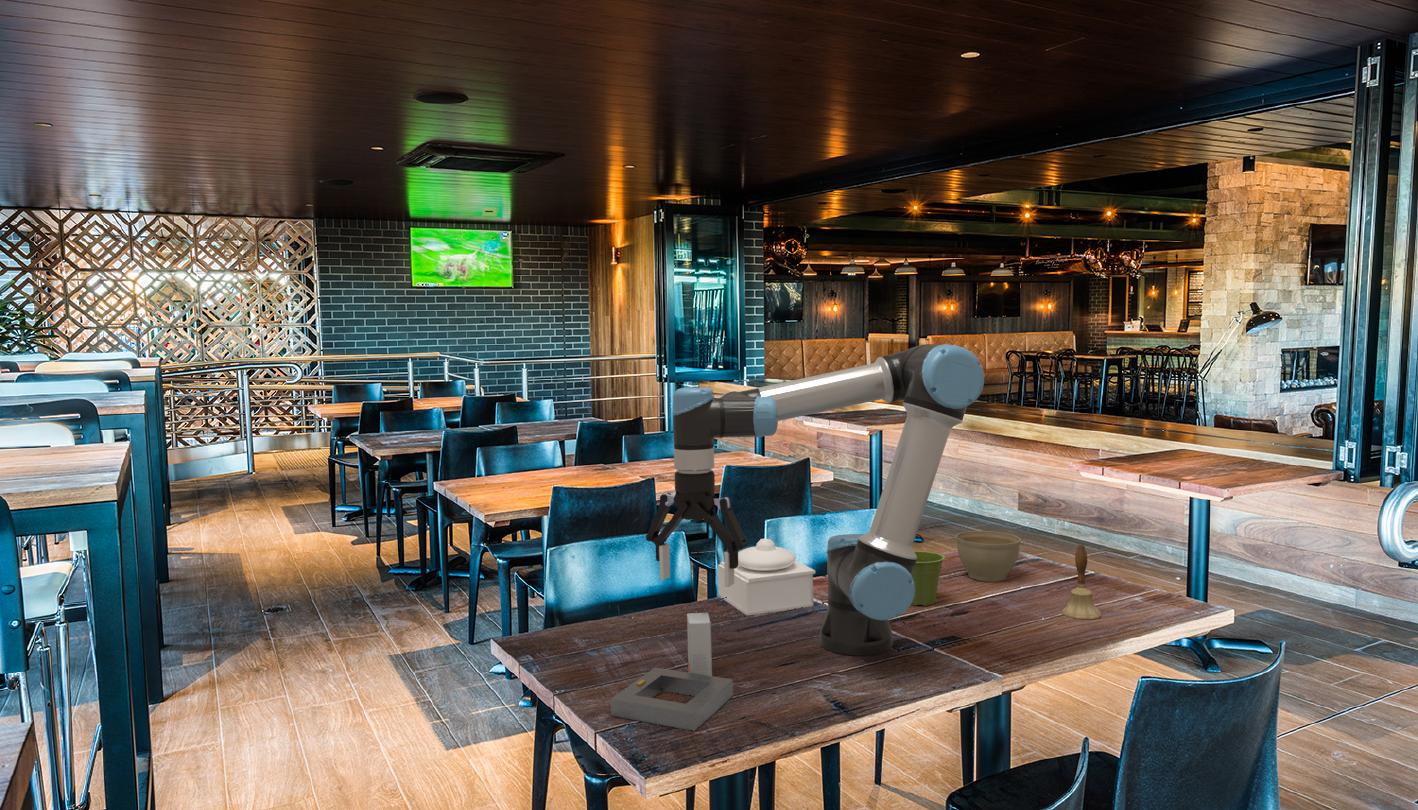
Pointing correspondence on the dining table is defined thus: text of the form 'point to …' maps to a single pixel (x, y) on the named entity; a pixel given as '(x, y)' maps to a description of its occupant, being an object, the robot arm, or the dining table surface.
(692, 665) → the skincare box
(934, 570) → the plant pot
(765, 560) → the butter dish
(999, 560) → the planter bowl
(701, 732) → the dining table surface
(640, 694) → the collar
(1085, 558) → the hand bell
